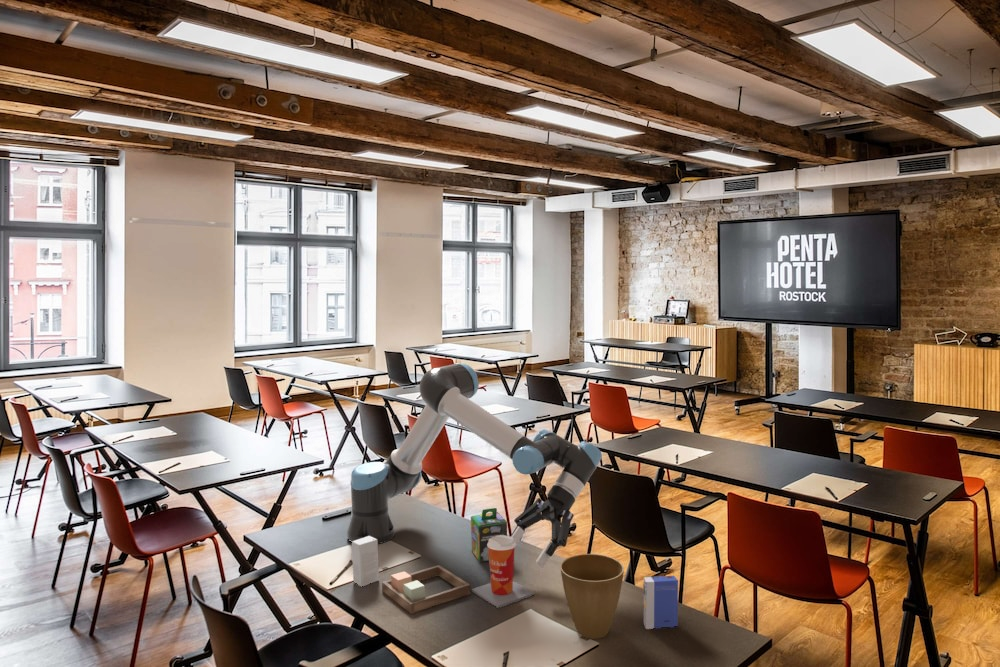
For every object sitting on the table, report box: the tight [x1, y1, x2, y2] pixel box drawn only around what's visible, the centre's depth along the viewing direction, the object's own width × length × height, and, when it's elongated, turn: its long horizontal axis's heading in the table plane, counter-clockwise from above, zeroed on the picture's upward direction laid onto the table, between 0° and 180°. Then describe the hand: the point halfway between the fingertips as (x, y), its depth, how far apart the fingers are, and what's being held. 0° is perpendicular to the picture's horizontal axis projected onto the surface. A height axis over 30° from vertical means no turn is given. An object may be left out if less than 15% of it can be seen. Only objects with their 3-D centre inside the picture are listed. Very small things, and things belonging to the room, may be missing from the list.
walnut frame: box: [381, 564, 471, 615], centre depth 186 cm, size 16×18×2 cm
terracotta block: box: [390, 570, 412, 595], centre depth 186 cm, size 4×4×5 cm
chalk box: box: [470, 507, 508, 563], centre depth 210 cm, size 9×9×15 cm
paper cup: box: [487, 535, 517, 595], centre depth 185 cm, size 8×8×14 cm
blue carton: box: [642, 574, 679, 630], centre depth 167 cm, size 8×3×12 cm, turn 96°
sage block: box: [404, 580, 426, 602], centre depth 180 cm, size 4×4×5 cm
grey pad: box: [470, 580, 535, 609], centre depth 185 cm, size 12×12×1 cm
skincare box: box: [351, 536, 380, 588], centre depth 193 cm, size 6×4×12 cm
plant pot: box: [559, 553, 625, 640], centre depth 164 cm, size 15×15×16 cm
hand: (523, 556), depth 188 cm, fingers open, 13 cm apart
